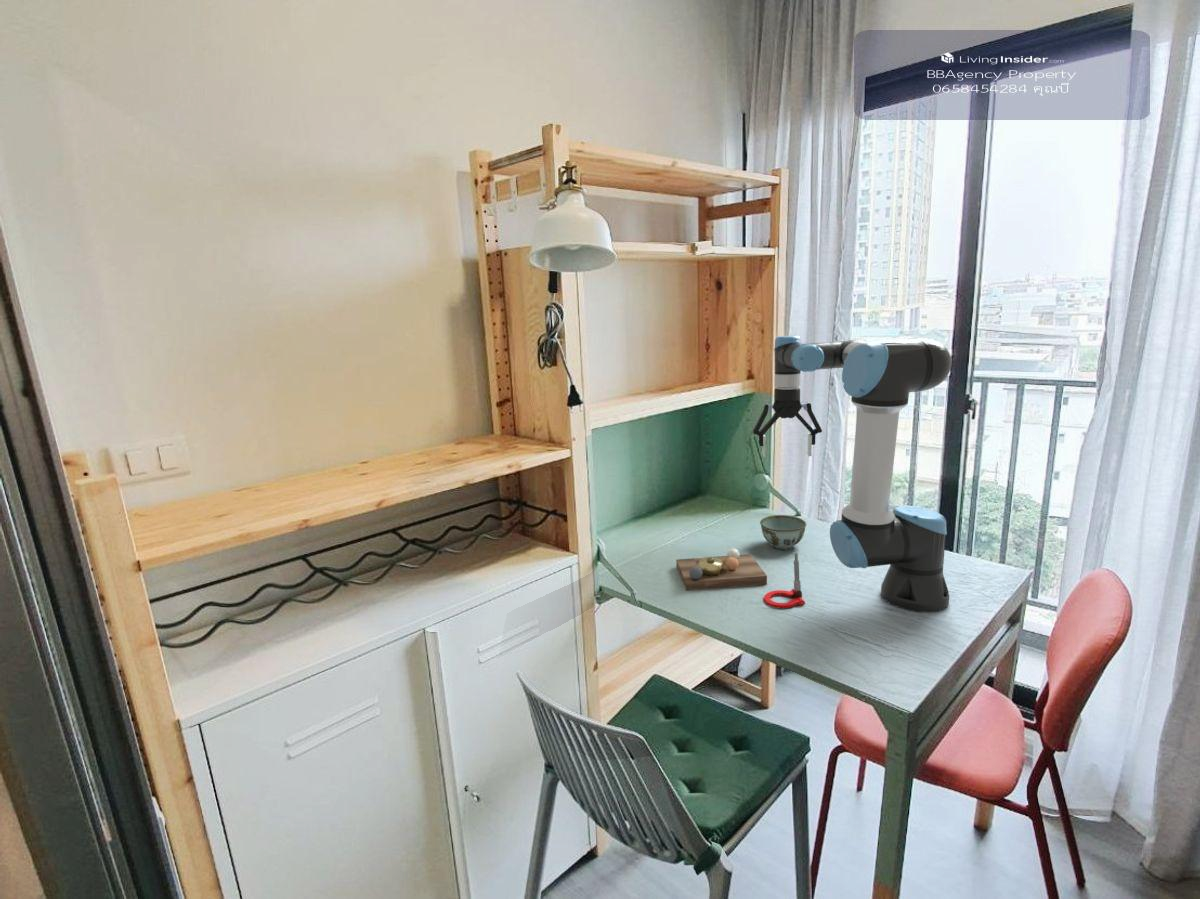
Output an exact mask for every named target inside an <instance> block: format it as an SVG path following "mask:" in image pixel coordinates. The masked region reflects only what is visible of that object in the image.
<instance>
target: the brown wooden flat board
mask: <svg viewBox="0 0 1200 899" xmlns="http://www.w3.org/2000/svg"><path fill="white" fill-rule="evenodd" d="M706 557H707V556H706ZM706 557H692V558H690V557H689V558H679V559H678V558H677V559H676V561H675V563H676V564H675V565H676V569H677V572H678V574H679V576H680V579H681V582H682V584H683V586H684V588H685V591H697V590H708V589H709V590H710V589H711V590H713V589H724V588H737V587H749V586H750V587H751V586H762V585H763V586H764V585H767V584H768V575H767V574H766V572H764V570H763V568H762V567H761V566H760V565H759V564H758V562H757V561H756V559H755V558H754V557H753V555H752V554H751V553H748V554H747V553H745V554H740V556H739V558H738V563H739V565H738V568H737V569H735V570H730V569H728V568H727V567H726V560H727V559H728V556H727V555H719V556H714V557H715V558H719V559H721V560H722V562H723V571H722V573H720V574H717V575H706V574H703V573H702V576H701V578H699V579H693V578H691V576H690V574H689V571H690V569H691V568H692V567H694V566H698V567H699V560H700V559H702V558H706Z"/></svg>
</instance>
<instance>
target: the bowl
mask: <svg viewBox="0 0 1200 899" xmlns="http://www.w3.org/2000/svg"><path fill="white" fill-rule="evenodd" d="M759 521H760V522H759V524H760V526H761V532H762V536H763V537H764V539H765V541H767V542H768V544H770V545H771V546H772V547H773V548H774V549H776V550H780V551H790V550H793V547H794V546H796V545H797V544H799V543H800V542H801V541H802V539H803V537H804V535H805V531H806V527H807V522H806V521H805V520H804V519H803V518H800V517H797V516H792V515H785V514H784V515H783V514H782V515H781V514H778V515H776V514H775V515H769V516H766V517H763V518H762V519H761V520H759Z"/></svg>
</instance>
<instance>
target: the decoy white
mask: <svg viewBox="0 0 1200 899" xmlns="http://www.w3.org/2000/svg"><path fill="white" fill-rule="evenodd" d="M740 555H741V553H740V551H739V550H738V549H736V548H735V547H734V548H730V549H728V551H727V555H726V556H728V558H730V557H734V558H736V559H737V560H738V558H739V556H740Z"/></svg>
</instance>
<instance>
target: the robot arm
mask: <svg viewBox="0 0 1200 899" xmlns="http://www.w3.org/2000/svg"><path fill="white" fill-rule="evenodd" d="M773 351H774V387H775V388H774V389H773V390H774V394H773V395H774V397H773V398H774V399H773V400H774V402H773V404H768V403H764V404H763V409H762V411H761V414H760V416H759V417H758V419H757V422H756V423H755V425H754V427H753V430H752V433H753V434H754V435H756V436H758V445H759V447H761V448H762V450H761V451H762V452H761V453H762V457H763V458H766V457H767V450H766V449H767V446H766V445H767V436H766V435H765V434H766V433H767V432H768V430H770V428H771V427H772V426H773V425H774V423H775V422H776V421H777V420H778V419H779V418H781V419H787V418H788V419H793V418H795V417H796V419H797V420H798V421H800V423H802V425H803V426H804V427H805V428H806V429H807V430H808V432H809V433H807V456H808V457H812V453H813V452H812V451H813V450H812V449H813V447H812V446H814V445H815V444H816V435H818V434H821V433H822V432H823V429H822V428H821V426H820V424H819V421H818V420H817V418H816V416H815V414H814V412H813V409H812V403H811V402H810V401H806V402H804V403H802V402H801V388H800V386H801V372H804V373H806V372H809V373H810V372H815V371H817V370H830V369H842V370H841V372H842V373H841V380H842V381H841V382H842V385H843V386H842V387H843V389H844V391H845V392H846V394H847V395H848V396H850V397H851V398H850V399H851V400H850V401H851V403H852V404H853V405H854V406H855V407H856V408H857V413H856V424H855V434H854V445H853V446H854V448H853V461H852V470H851V482H850V492H849V493H850V494H849V504H847V505H846V506H844V507H842V510H841V519H836V520H835V521H833V522H832V523H831V525H830V528H829V538H830V539H829V540H830V543H831V546H832V549H833V551H834V554H835V556H836V557H837V559H838V561H839V562H840V563H841V564H842V565H844V567H847V568H850V569H866V568H871V567H879V566H888V565H889V567H888V570H887V571H886V574H885V576H884V579H883V581H882V583H881V584H880V586H881V587H880V596H881V597H882V598H883V600H885V601H886V602H887V603H889V604H891V605H893V606H894V607H896V608H899V609H902V610H906V611H910V612H917V613H936V612H941V611H944V610H945V609H946V608H948V606H949V603H950V592H949V589H948V586H947V582H946V579H945V575H944V564H945V550H946V540H947V538H946V537H947V535H948V531H947V520H946V518H945V516H944V515H942V514H941V513H939V512H937V511H935V510H932V509H928V508H924V507H921V506H915V505H907V504H906V505H901V504H900V505H896V506H894V507H893V509H892V510H891V509H890V500H891V491H892V490H891V489H892V482H893V472H894V464H895V463H894V462H895V454H896V445H897V437H898V436H897V435H898V428H899V419H900V417H899V416H900V411H901V410H903V409H904V408H905V407H906V406H908V404H909V398H910V397H909V396H910V393H916V392H925V391H929V390H931V389H934V388H936V387H937V386H939V385H940V384H942V383H943V382H944V381H945V380H946V378H947V377H948V375H949V374H950V371H951V369H952V356H951V354H950V351H949V350H948V348H947V347H946V346H945V345H944V344H942V343H941V342H939V341H936V340H934V339H929V338H915V339H914V338H913V339H898V340H896V339H895V340H878V341H877V340H874V341H871V342H867V341H864V340H857V339H849V340H845V341H844V340H843V341H829V342H812V343H802V338H801V337H800V336H799V335H781V336H776V338H775V339H774V348H773ZM772 409H773V411H774V413H773V415H772V416H771V417H770V418H769V420H768V421H767V422H766V424H764V426H762V424H763V422H764V421H765V419H766V416H767V415H768V412H770V411H771V410H772ZM802 409H804V410H805V411H806V412H807V415H808V416H809V418H810V421H811V422H812V425H813V426H814V427H815V428H812V426H811V425H810V424H809V423H808V422H807V421H806V420H805V418H804V417H803V416H802V415H801V414H800V413H799V412H800V410H802ZM761 427H762V428H761Z"/></svg>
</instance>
